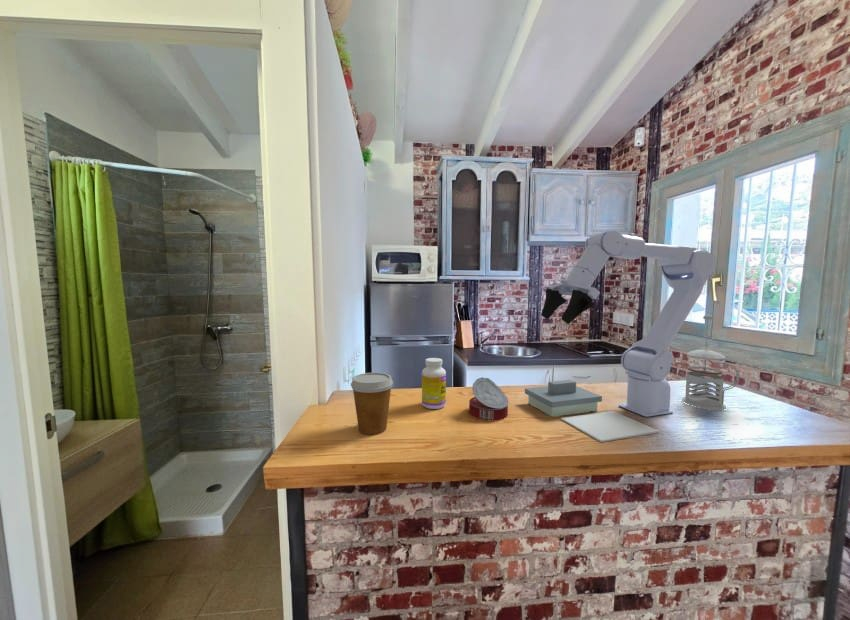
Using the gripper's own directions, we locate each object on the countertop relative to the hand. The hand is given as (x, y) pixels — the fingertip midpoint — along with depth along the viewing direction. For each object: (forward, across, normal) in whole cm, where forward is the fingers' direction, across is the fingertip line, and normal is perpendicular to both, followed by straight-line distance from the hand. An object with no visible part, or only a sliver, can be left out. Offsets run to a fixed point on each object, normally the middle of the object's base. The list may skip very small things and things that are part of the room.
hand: (554, 319), depth 76 cm
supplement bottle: (+36, -14, -6) cm, 39 cm away
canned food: (+29, -6, +3) cm, 29 cm away
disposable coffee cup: (+46, -4, -21) cm, 51 cm away
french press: (-7, +5, +53) cm, 54 cm away
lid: (+14, -4, +19) cm, 24 cm away
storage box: (+16, -4, +20) cm, 26 cm away
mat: (+14, +9, +22) cm, 27 cm away
